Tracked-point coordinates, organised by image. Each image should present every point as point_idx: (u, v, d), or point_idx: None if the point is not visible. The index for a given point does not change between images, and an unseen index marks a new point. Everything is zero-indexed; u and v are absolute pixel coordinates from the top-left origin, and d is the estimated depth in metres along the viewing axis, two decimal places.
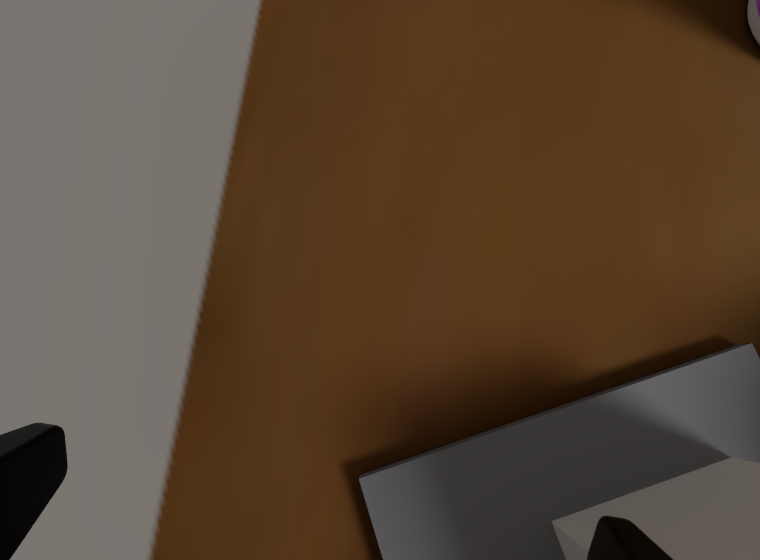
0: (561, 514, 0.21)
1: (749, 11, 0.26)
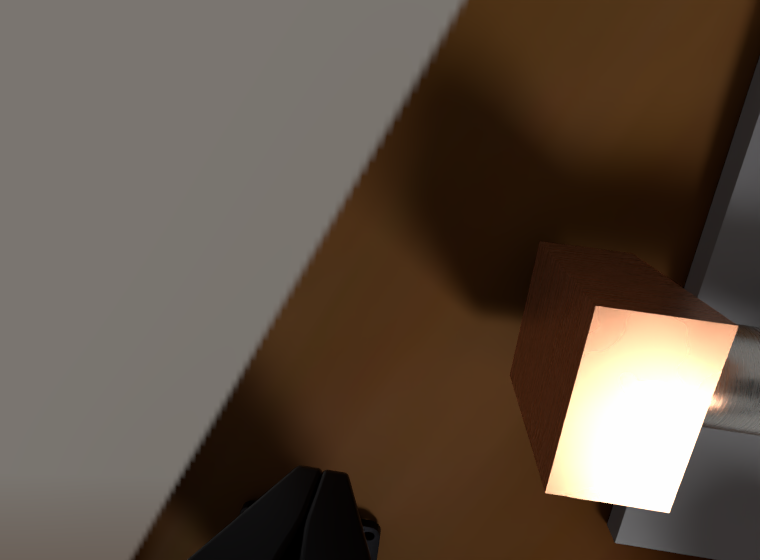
0: None
1: None
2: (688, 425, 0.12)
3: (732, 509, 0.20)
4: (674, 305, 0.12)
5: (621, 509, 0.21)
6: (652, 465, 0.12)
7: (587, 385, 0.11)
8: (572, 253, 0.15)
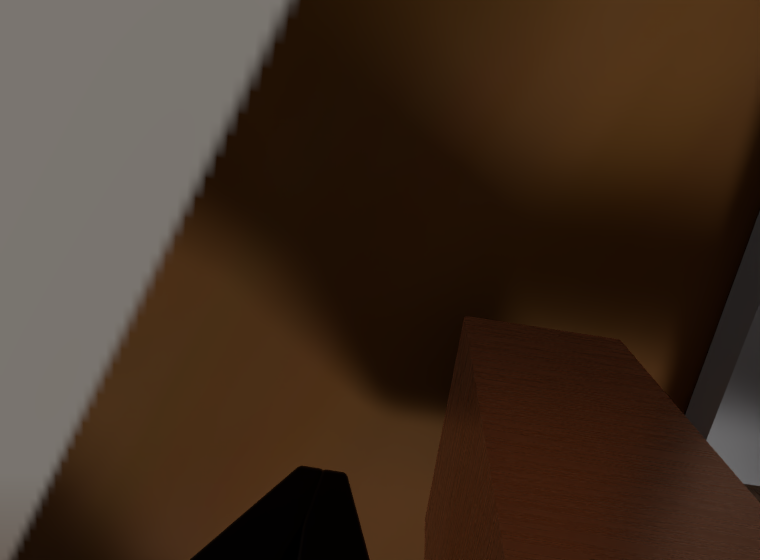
0: None
1: None
2: None
3: None
4: (709, 546, 0.05)
5: None
6: None
7: None
8: (512, 348, 0.09)
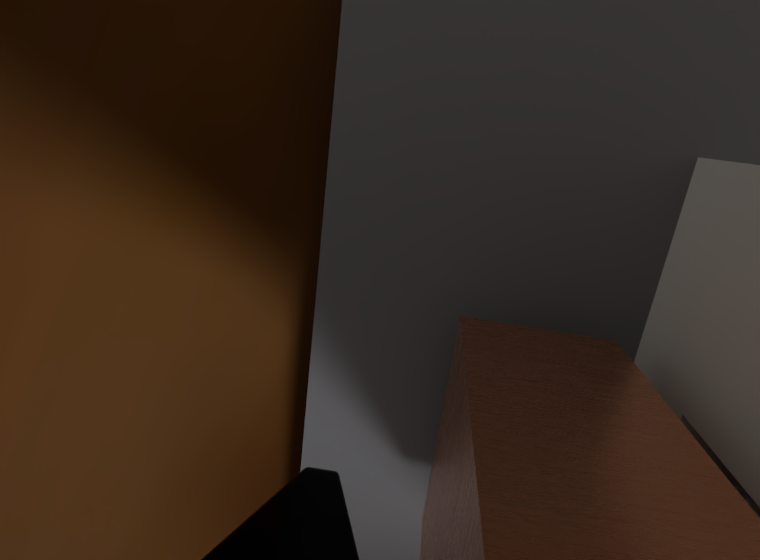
0: (727, 153, 0.09)
1: None
2: None
3: None
4: (692, 545, 0.05)
5: None
6: None
7: None
8: (506, 347, 0.09)
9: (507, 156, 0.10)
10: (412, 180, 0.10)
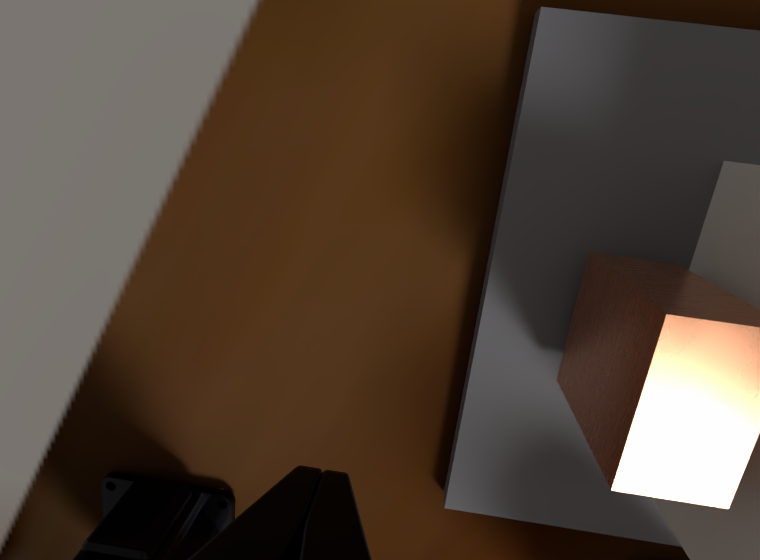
0: (740, 158, 0.17)
1: None
2: (749, 426, 0.12)
3: (546, 474, 0.21)
4: (736, 313, 0.12)
5: (449, 476, 0.22)
6: (714, 464, 0.13)
7: (655, 388, 0.12)
8: (623, 263, 0.16)
9: (616, 161, 0.17)
10: (560, 175, 0.18)
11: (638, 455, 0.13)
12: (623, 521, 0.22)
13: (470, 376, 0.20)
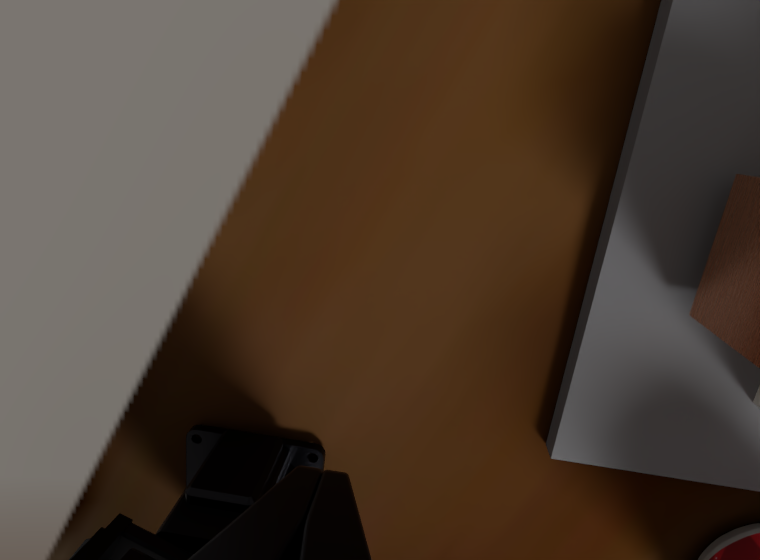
0: None
1: None
2: None
3: (663, 421, 0.20)
4: None
5: (556, 425, 0.21)
6: None
7: None
8: None
9: None
10: (703, 94, 0.17)
11: None
12: (741, 471, 0.21)
13: (589, 316, 0.19)
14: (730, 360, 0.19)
